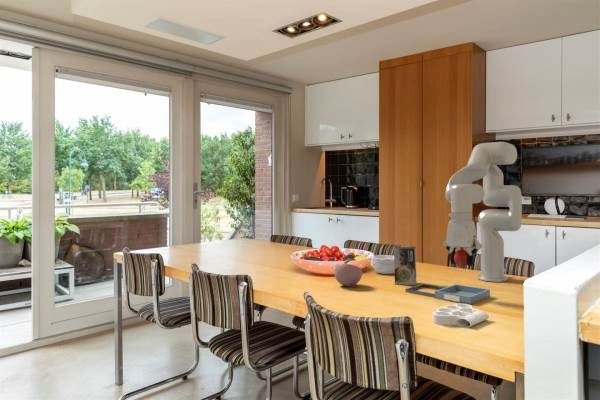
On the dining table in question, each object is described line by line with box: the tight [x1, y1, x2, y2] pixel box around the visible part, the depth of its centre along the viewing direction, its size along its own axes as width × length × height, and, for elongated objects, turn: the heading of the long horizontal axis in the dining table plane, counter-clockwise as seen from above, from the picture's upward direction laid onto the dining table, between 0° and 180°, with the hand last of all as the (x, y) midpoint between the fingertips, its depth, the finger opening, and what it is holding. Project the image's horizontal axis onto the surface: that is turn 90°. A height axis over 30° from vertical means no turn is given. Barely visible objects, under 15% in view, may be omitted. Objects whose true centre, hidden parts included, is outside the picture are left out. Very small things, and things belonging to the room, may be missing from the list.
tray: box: [434, 283, 491, 306], centre depth 167 cm, size 16×14×3 cm
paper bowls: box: [370, 254, 395, 275], centre depth 220 cm, size 15×15×8 cm
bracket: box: [405, 283, 446, 298], centre depth 178 cm, size 14×13×1 cm
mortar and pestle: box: [333, 258, 363, 287], centre depth 191 cm, size 12×12×11 cm
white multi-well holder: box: [432, 303, 490, 329], centre depth 140 cm, size 3×18×15 cm
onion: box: [454, 247, 469, 269], centre depth 167 cm, size 6×6×8 cm
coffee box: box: [393, 245, 417, 286], centre depth 194 cm, size 9×6×16 cm
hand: (461, 264), depth 167 cm, fingers closed on onion, 5 cm apart
